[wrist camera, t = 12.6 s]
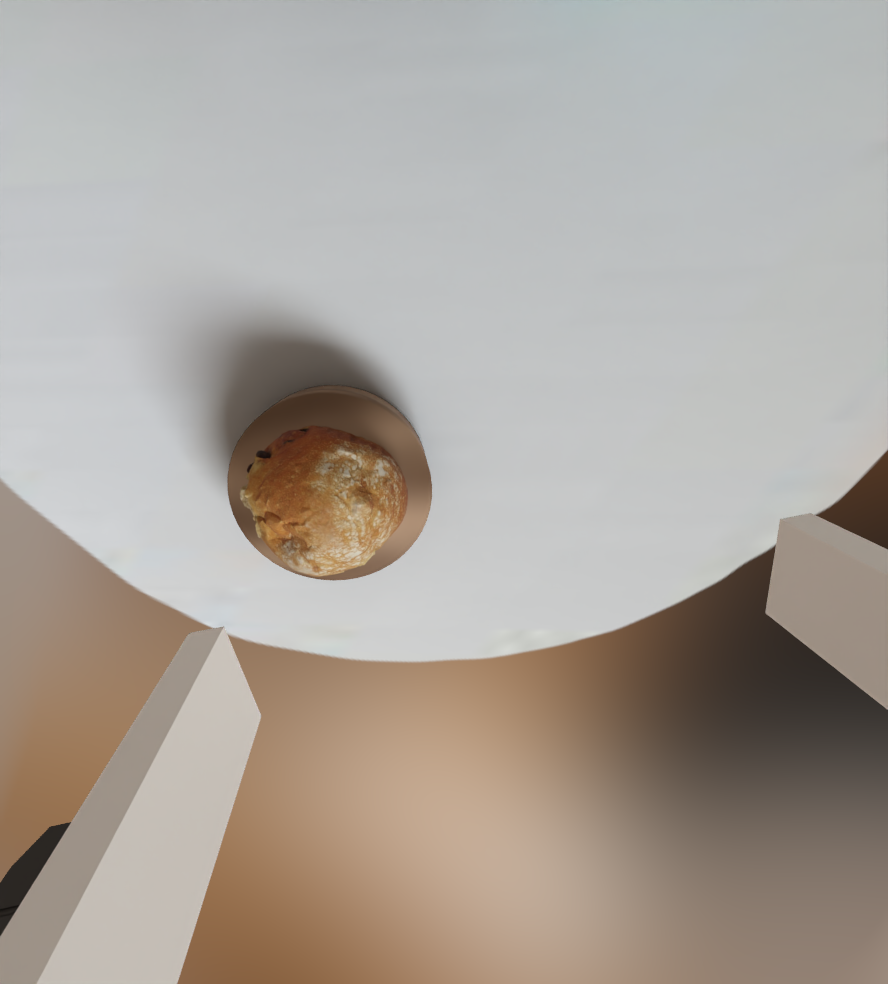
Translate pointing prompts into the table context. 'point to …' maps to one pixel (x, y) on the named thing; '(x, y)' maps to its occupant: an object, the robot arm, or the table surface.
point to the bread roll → (324, 499)
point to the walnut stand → (353, 416)
